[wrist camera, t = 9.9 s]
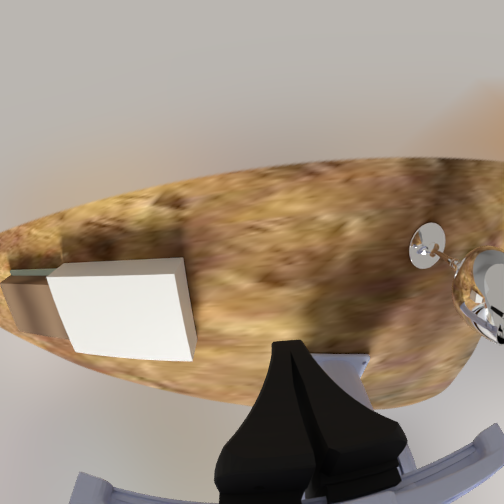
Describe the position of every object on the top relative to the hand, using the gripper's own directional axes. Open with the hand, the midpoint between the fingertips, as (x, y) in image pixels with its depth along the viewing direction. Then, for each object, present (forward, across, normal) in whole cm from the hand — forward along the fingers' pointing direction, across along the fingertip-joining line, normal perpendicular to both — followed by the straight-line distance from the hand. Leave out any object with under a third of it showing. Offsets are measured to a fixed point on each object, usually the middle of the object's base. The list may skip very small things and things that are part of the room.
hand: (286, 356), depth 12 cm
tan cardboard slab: (+10, +23, +3) cm, 25 cm away
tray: (+10, +13, +3) cm, 16 cm away
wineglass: (+10, -14, -1) cm, 18 cm away
